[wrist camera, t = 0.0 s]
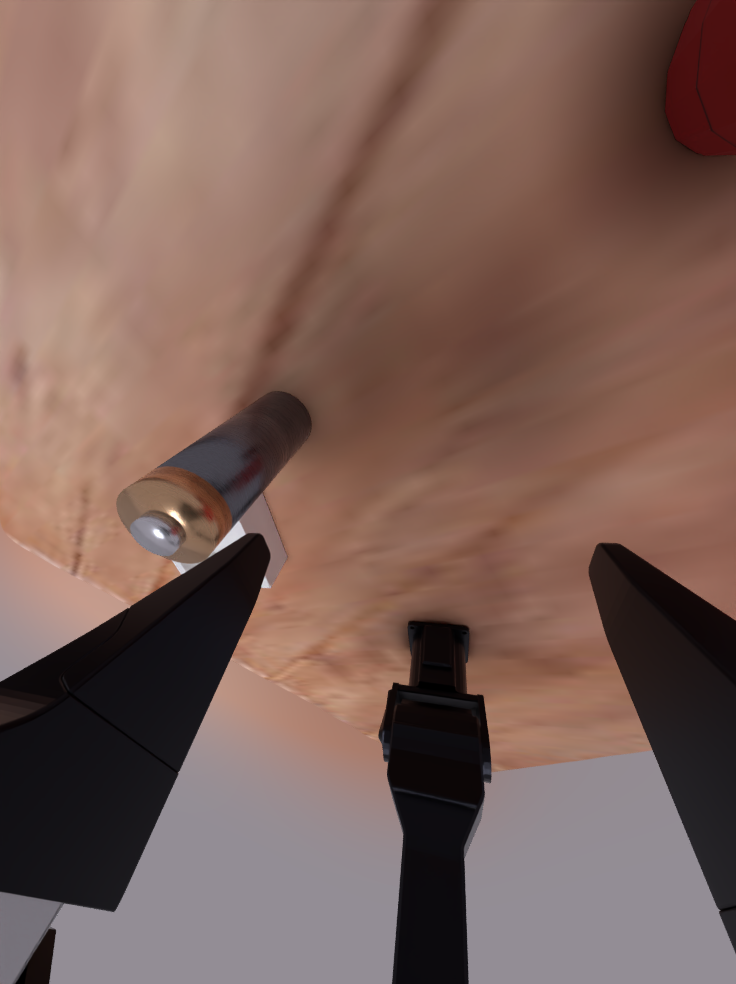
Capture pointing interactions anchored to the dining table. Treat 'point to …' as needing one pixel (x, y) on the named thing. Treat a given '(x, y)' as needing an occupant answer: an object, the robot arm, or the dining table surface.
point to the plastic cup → (705, 80)
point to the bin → (254, 522)
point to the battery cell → (213, 480)
